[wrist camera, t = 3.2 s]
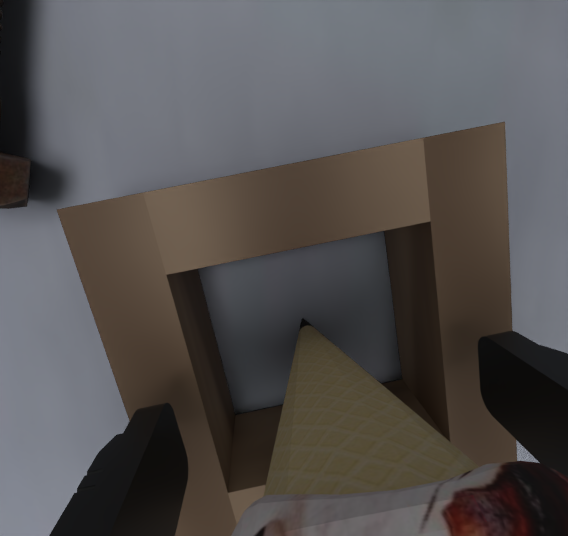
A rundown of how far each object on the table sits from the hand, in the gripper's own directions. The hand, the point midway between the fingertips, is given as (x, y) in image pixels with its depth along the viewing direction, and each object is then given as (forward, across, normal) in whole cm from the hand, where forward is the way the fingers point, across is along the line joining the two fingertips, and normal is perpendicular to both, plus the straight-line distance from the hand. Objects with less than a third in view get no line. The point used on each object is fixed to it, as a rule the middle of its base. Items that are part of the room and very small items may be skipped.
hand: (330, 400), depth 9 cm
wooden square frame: (+6, 0, 0) cm, 6 cm away
